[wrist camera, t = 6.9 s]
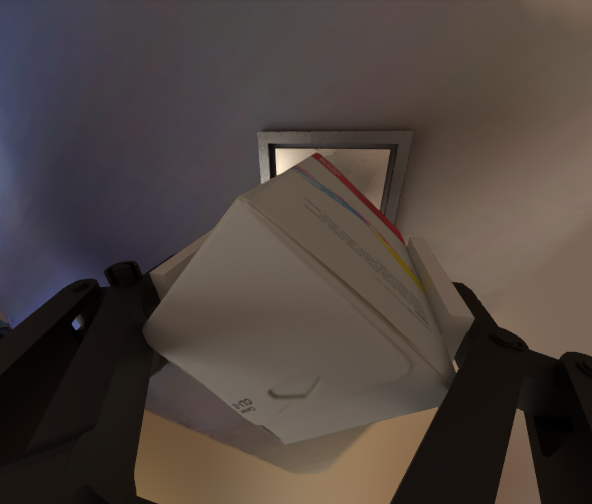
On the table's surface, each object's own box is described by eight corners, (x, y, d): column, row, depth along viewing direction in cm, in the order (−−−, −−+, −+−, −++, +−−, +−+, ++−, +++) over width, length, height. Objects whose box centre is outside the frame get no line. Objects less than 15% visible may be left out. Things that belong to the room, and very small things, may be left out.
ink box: (317, 146, 15) (233, 181, 5) (403, 234, 16) (485, 409, 6) (247, 230, 19) (123, 346, 9) (320, 294, 20) (286, 457, 10)
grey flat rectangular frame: (274, 327, 35) (272, 332, 34) (260, 131, 22) (257, 131, 22) (367, 342, 32) (367, 348, 32) (411, 130, 20) (414, 130, 19)
